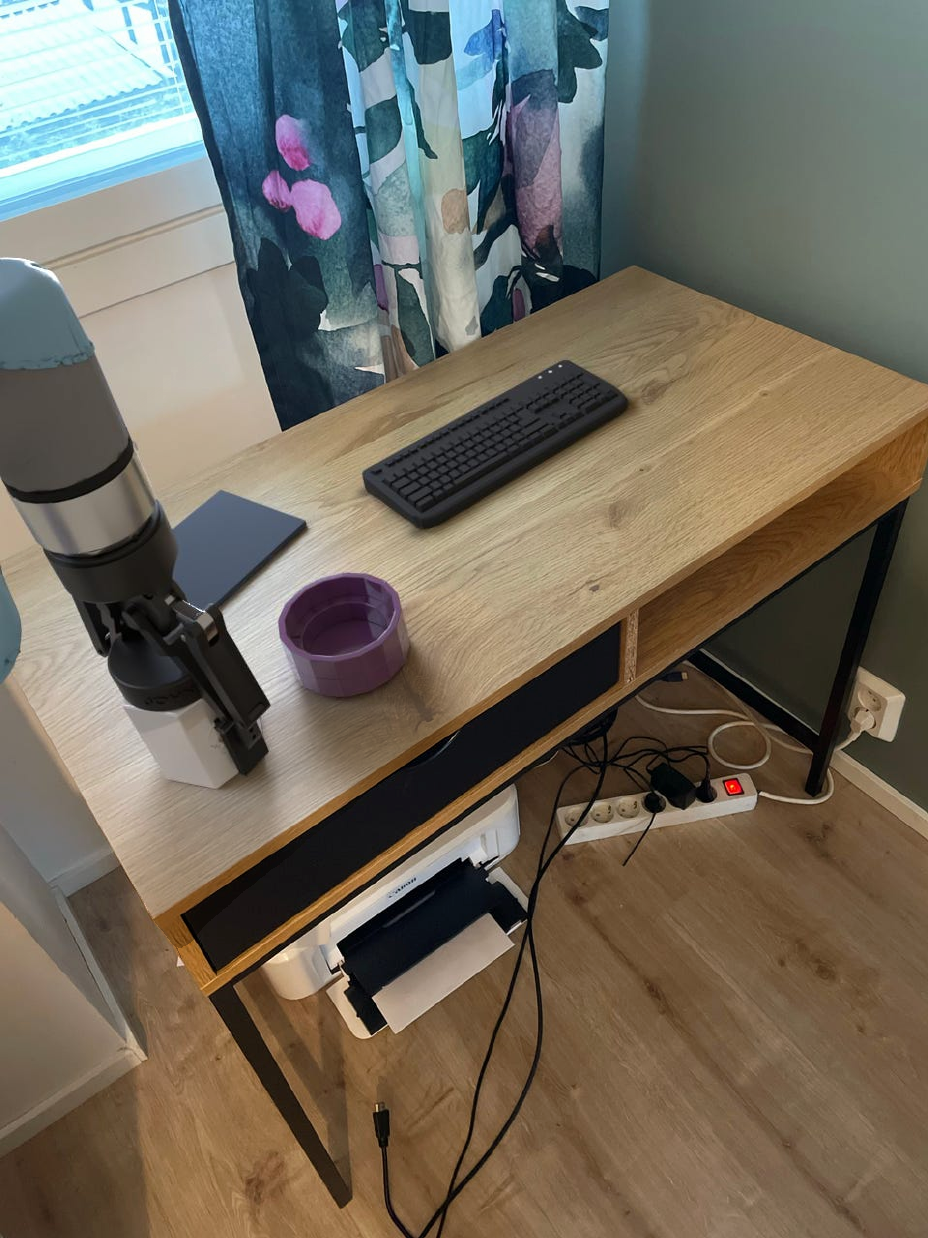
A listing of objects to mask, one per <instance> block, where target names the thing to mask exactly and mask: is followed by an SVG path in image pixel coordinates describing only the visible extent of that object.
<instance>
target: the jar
mask: <svg viewBox="0 0 928 1238" xmlns="http://www.w3.org/2000/svg"><path fill="white" fill-rule="evenodd" d="M197 609H198V608H197ZM199 610H201V609H199ZM201 611H202V610H201ZM182 626H183V624H182V623H180V625H179V626H178V627H177V628H176V629H175V630H173V631H172V632H171V633H170V634H169V635H168V636H166V637H164V638H163V639H164V640H165V642H166V641H167V640H168V639H169V638H170V637H171V636H172V635H174V634H175V633H176V632H177V631H178V630H179V629H180V628H181V627H182ZM106 661H107V669H108V672H109V674H110V677H111V679H112V680H113V681H114V683H115V685H116V686H117V689H118V690H119V691H120V693H121V695H122V696H121V698H122V699H121V700H122V701H121V703H122V704H121V706H122V708H123V710H124V712H125V714H126V715H127V717H128V718H129V720H130V721H131V723H132V725H133V727H134V728H135V730H136V731H137V733H138V735H139V737H140V738H141V740H142V742H143V743H144V745H145V746H146V749H147V750H148V752H149V753H150V755H151V757H152V758H153V760H154V762H155V763H156V765H157V767H158V768H159V770H160V771H161V773H162V776H164V778H165V779H166V780H168V781H173V782H178V783H184V784H189V785H194V786H198V787H203V788H209V789H213V790H218V789H219V788H221V787H222V786H223V785H225V784H226V783H227V782H229V781H230V780H231V779H232V778H234V777H235V776H236V775H238V774H240V773H239V772H238V770H237V768H236V766H235V764H234V762H233V760H232V758H231V756H230V754H229V752H228V750H227V748H226V746H225V744H224V742H223V740H222V738H221V736H220V734H219V732H218V731H216V730H215V729H214V727H215V724H214V720H215V719H216V718H217V717H218V716H217V715H216V714H215V712H214V711H213V710H212V709H211V707H210V706H209V705H208V704H207V703H206V701H205V700H204V699H203V698H202V696H201V695H200V694H199V693H198V691H197V689H196V687H195V685H194V683H193V681H192V679H191V677H190V676H189V675H187V674H185V673H183V672H181V670H180V669H179V668H178V667H177V665H176V664H175V663H174V662H173V661H172V659H171V658H170V657H164V656H160V655H159V654H158V653H157V652H156V651H155V650H154V649H153V647H152V646H151V645H150V644H149V642H148V641H147V640H146V639H145V638H144V636H143V635H142V634H141V633H140V632H139V631H138V630H135V631H134V632H133V633H132V634H131V635H129V636H128V637H127V638H126V639H125V640H124V641H123V642H122V641H120V640H118V639H115V641H114V642H113V644H112V646H111V648H110V651H109V654H108V656H107V660H106ZM261 721H262V720H261V717H260V718H259V719H258V720H257V723H258V725H259V728H260V730H261V732H262V733H263V731H262V722H261Z"/></svg>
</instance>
